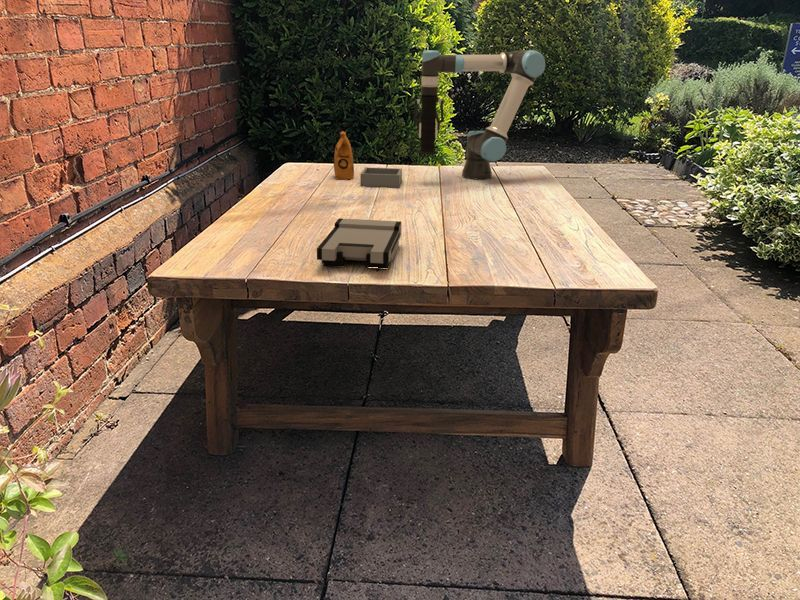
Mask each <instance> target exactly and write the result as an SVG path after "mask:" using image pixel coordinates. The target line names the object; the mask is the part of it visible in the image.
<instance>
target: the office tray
mask: <svg viewBox="0 0 800 600" xmlns="http://www.w3.org/2000/svg"><path fill="white" fill-rule="evenodd" d="M401 236H402V221H397V220H394V221H393V220H379V219H378V220H376V219H375V220H374V219H359V218H358V219H357V218H356V219H355V218H337V220H336V221H335V222H334V227H333V229H332V230H331V231H330V232H329V233H328V235H326V237H324V239H323V240H322V241H321V243H320V244H319V245H318V246H317V248H316V260H317V261H321V264H323V267H334V266H344V267H345V265H346V264H347V262H348V261H361V262H362V261H363V262H364V261H365V267H378V268H388V269H389V267H390V265H391V263H393V260H394V257H395V255H396V253H397V250H398V248H399V244H400V243H399V242H400V239H401ZM347 260H348V261H347ZM390 262H391V263H390ZM345 263H346V264H345ZM389 264H390V265H389ZM388 266H389V267H388Z"/></svg>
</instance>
